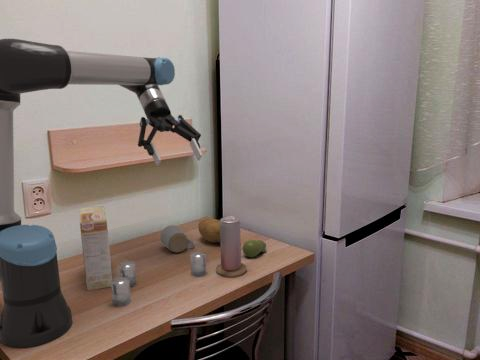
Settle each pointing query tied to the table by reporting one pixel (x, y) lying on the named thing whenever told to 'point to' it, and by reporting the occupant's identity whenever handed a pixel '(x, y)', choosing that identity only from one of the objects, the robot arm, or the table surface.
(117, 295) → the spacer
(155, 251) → the table surface
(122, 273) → the cylinder
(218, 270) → the coaster
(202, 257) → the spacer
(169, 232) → the ceramic mug
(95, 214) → the coffeecake box
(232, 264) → the beverage can
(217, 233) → the potato
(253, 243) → the pear
